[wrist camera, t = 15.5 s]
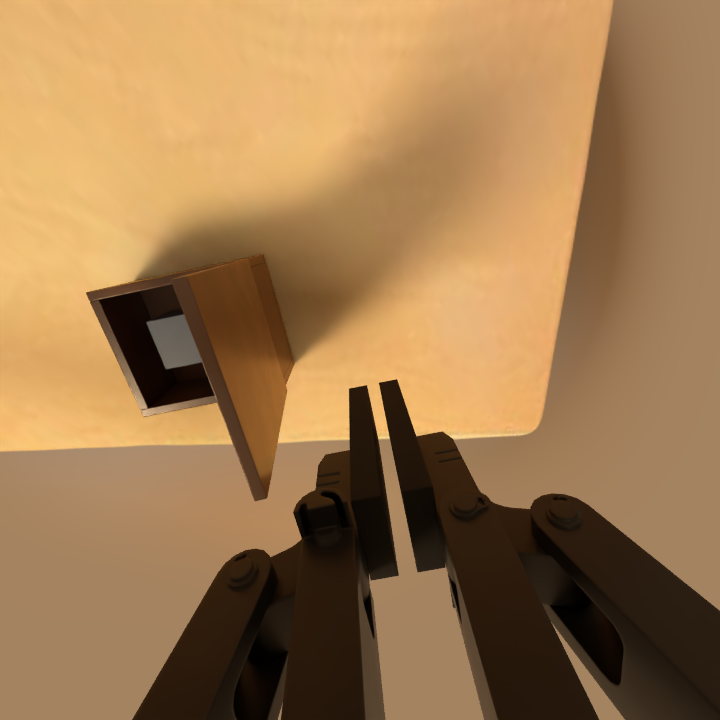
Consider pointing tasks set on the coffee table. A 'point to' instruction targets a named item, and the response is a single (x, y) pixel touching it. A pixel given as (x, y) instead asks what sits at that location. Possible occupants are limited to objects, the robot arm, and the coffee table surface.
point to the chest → (140, 355)
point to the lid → (238, 362)
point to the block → (174, 339)
